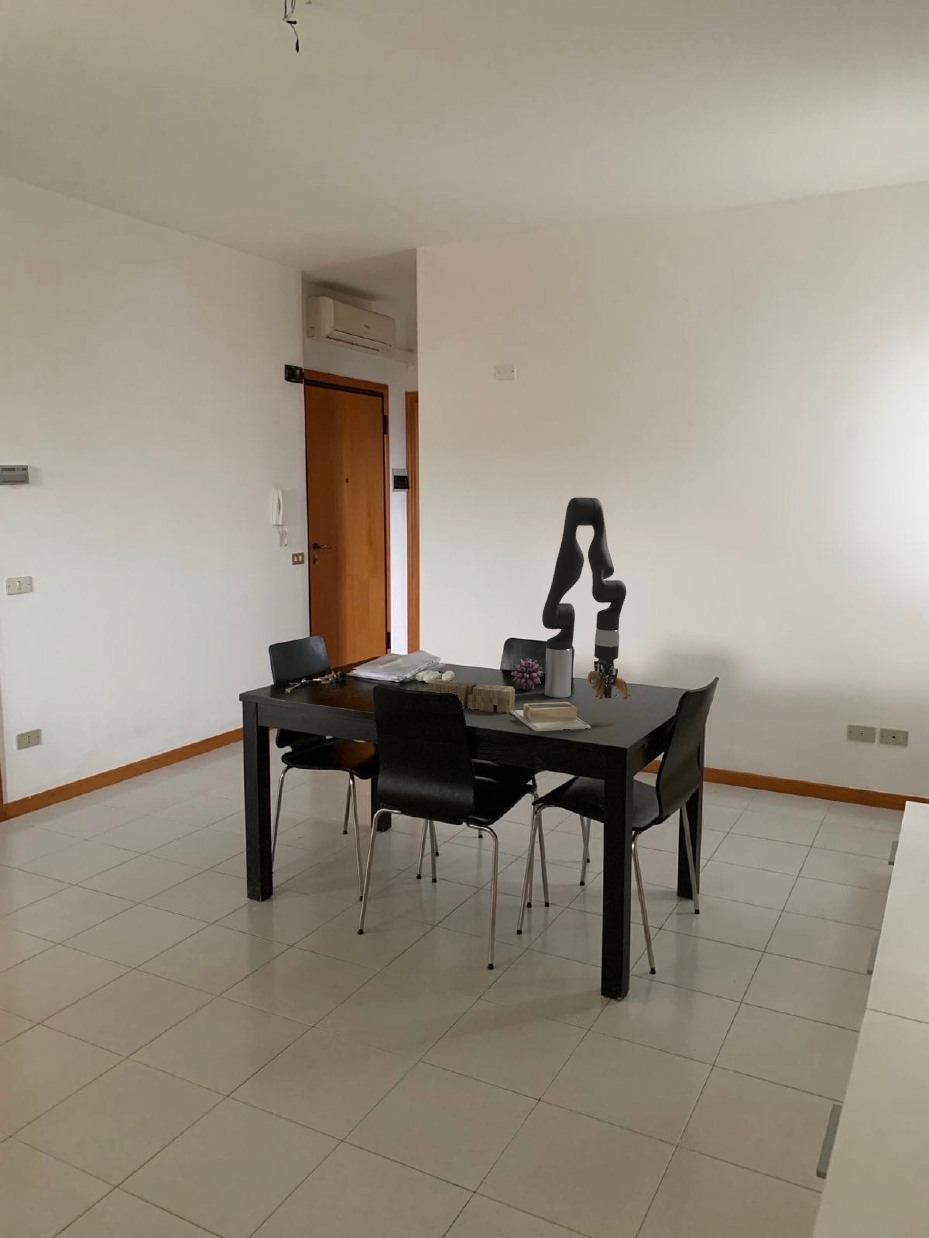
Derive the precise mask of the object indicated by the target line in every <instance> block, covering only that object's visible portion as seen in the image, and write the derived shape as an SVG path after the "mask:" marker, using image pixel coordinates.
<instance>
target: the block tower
mask: <svg viewBox="0 0 929 1238" xmlns="http://www.w3.org/2000/svg"><path fill="white" fill-rule="evenodd" d="M428 690H429V691H432V692H435V693H452V694H455V695H458V696H459V698H460V700H461V702H462V705H463V707H464V708H463V709H465V708H467V709H468V710H470V709H469V708H473V709H472V710H474V709H481V710H480V711H483V710H488V711H487V712H494V711H496V713H501V712H507V713H506V714H511V713H510V712H511V711H513V710H514V711H515V695H516V689H515V688H514V686H509V685H508V686H507V685H496V684H485V683H480V684H478V685H477V683H476V682H467V681H458V680H457V681H454V680H444V679H442V678H436V679H434V680H432V681H430V682H428ZM432 692H431V693H432ZM496 708H497V709H496ZM495 709H496V710H495ZM493 710H494V711H493Z"/></svg>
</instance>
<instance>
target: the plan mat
mask: <svg viewBox="0 0 929 1238" xmlns="http://www.w3.org/2000/svg"><path fill="white" fill-rule="evenodd" d="M510 714H512V715H513V716H514V715H515V716H514V717H515V718H517V719H518V720H520V721H521V722H522V723H523V724H525V725H526V726H527V727H528V728H530V729H531V730H532V731H534V732H548V731H564V730H563V729H570V730H583V729H585V728H588V729H591V725H590V724H588V723H587V722H585V721H583V720H581V719H580V718H579V717H577V716H576V720H565V721H545V722H530V721H529V720H528V719H526V718H525V717H524V716H523V709H520V710H519V709H518V710H515V709H514V711H511V713H510ZM585 730H586V729H585Z"/></svg>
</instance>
